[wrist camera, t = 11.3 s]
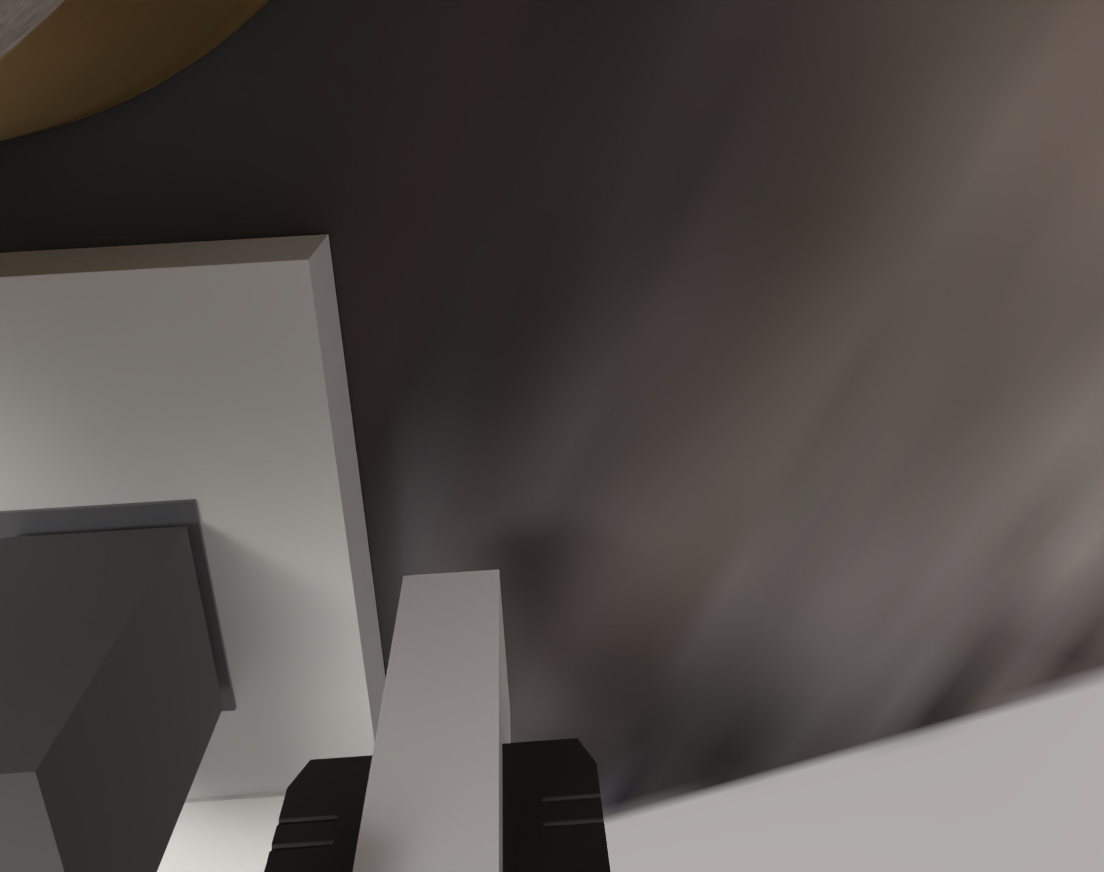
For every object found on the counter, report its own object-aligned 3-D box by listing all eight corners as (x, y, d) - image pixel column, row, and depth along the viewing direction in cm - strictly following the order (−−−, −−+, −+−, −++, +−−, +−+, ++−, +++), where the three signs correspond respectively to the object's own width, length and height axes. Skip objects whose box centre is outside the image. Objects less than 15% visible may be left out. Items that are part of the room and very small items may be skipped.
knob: (52, 718, 18) (-143, 1022, 13) (2, 537, 17) (-239, 790, 11) (223, 707, 18) (104, 1004, 13) (185, 526, 17) (35, 770, 12)
